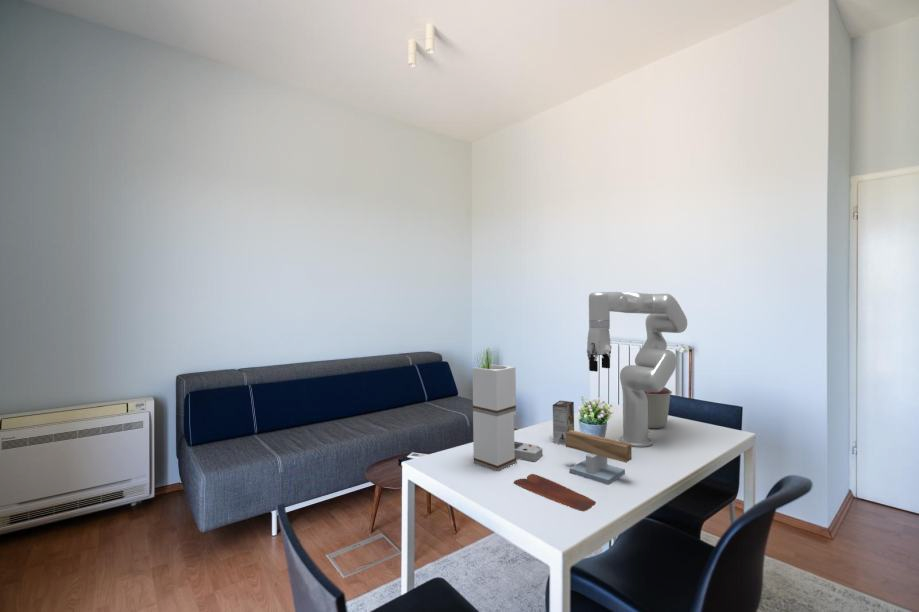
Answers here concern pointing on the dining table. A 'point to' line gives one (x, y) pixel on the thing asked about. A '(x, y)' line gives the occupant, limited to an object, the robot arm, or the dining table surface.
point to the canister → (658, 407)
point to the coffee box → (562, 420)
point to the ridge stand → (597, 469)
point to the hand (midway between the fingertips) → (599, 369)
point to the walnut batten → (599, 446)
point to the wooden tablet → (555, 492)
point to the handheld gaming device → (527, 451)
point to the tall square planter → (494, 416)
